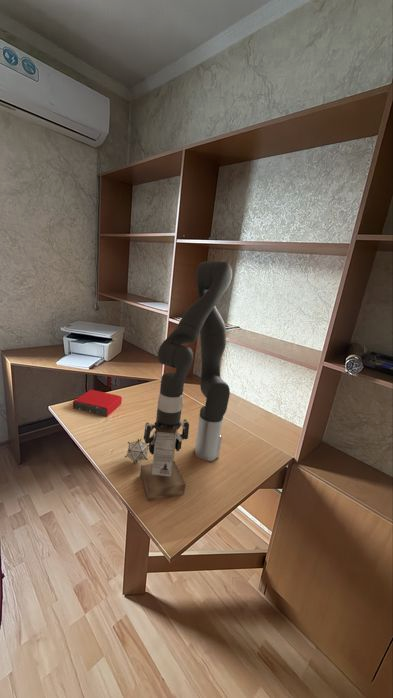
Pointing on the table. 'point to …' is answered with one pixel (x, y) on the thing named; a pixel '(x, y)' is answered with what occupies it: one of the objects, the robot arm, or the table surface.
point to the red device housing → (98, 402)
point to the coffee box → (164, 450)
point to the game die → (137, 451)
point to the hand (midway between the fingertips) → (164, 451)
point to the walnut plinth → (162, 483)
